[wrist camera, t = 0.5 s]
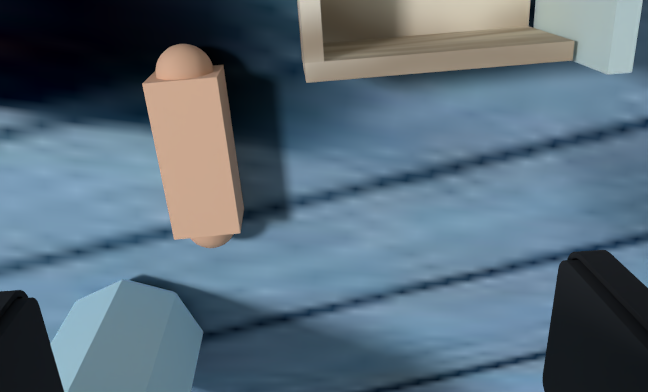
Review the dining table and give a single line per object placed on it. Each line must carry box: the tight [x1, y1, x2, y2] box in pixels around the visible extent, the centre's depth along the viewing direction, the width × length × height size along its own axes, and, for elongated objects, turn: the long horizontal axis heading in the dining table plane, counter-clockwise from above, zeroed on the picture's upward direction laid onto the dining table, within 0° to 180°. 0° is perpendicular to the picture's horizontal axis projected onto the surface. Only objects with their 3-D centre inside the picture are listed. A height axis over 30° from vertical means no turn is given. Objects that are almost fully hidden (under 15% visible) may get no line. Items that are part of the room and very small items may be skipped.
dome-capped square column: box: [142, 44, 244, 248], centre depth 36 cm, size 13×4×4 cm, turn 4°
